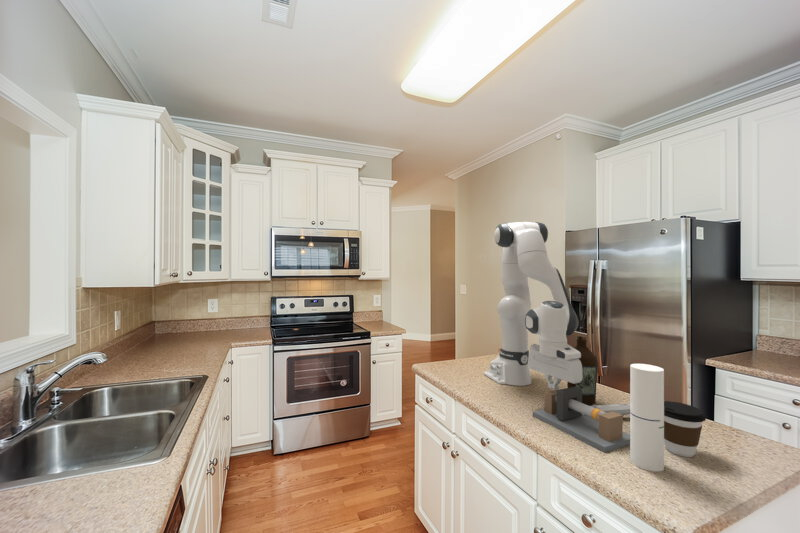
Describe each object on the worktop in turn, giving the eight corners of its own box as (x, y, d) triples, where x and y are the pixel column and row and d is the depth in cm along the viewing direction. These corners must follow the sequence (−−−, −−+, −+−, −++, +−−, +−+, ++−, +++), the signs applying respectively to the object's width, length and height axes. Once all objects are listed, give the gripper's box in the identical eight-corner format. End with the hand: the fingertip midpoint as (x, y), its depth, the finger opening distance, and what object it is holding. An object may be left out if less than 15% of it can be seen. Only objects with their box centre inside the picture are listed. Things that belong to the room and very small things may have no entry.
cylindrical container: (624, 455, 93) (624, 363, 93) (651, 456, 93) (651, 363, 93) (642, 471, 86) (641, 371, 86) (671, 471, 86) (671, 371, 86)
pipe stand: (532, 415, 118) (532, 392, 118) (561, 409, 124) (561, 386, 124) (604, 452, 95) (604, 423, 95) (636, 442, 101) (636, 414, 101)
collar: (556, 417, 112) (556, 390, 112) (575, 412, 116) (575, 386, 116) (562, 420, 110) (562, 392, 110) (582, 415, 114) (582, 388, 114)
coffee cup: (686, 464, 89) (686, 418, 89) (645, 444, 100) (645, 402, 100) (716, 458, 92) (716, 413, 92) (673, 439, 103) (673, 398, 103)
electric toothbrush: (581, 403, 120) (653, 394, 119) (583, 422, 120) (656, 414, 119) (588, 409, 115) (664, 400, 114) (591, 429, 115) (667, 420, 114)
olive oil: (562, 395, 138) (562, 333, 138) (590, 397, 136) (590, 333, 136) (571, 406, 127) (571, 338, 127) (602, 407, 125) (602, 339, 126)
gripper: (523, 343, 127) (524, 380, 127) (571, 356, 109) (572, 400, 109) (536, 342, 130) (536, 378, 130) (585, 354, 111) (585, 397, 111)
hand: (553, 388), depth 119 cm, fingers closed
